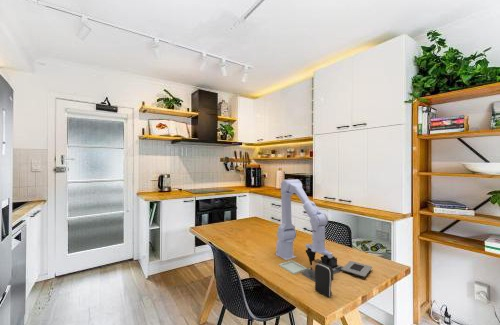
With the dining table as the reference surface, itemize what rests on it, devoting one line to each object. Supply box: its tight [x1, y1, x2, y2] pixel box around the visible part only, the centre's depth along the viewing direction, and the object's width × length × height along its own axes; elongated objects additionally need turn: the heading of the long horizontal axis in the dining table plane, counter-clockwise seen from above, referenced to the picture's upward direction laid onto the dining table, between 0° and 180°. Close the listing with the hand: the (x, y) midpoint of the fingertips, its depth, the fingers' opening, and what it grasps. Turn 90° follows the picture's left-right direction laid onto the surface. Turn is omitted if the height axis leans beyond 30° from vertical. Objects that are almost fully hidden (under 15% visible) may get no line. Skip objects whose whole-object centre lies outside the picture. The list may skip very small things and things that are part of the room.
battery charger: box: [314, 263, 334, 298], centre depth 95 cm, size 7×4×11 cm, turn 37°
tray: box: [278, 259, 308, 275], centre depth 117 cm, size 11×9×1 cm
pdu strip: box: [301, 255, 344, 282], centre depth 113 cm, size 22×8×7 cm, turn 122°
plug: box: [311, 258, 322, 271], centre depth 111 cm, size 4×4×6 cm
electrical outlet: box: [341, 260, 373, 278], centre depth 114 cm, size 13×10×2 cm
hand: (318, 267), depth 111 cm, fingers open, 7 cm apart
